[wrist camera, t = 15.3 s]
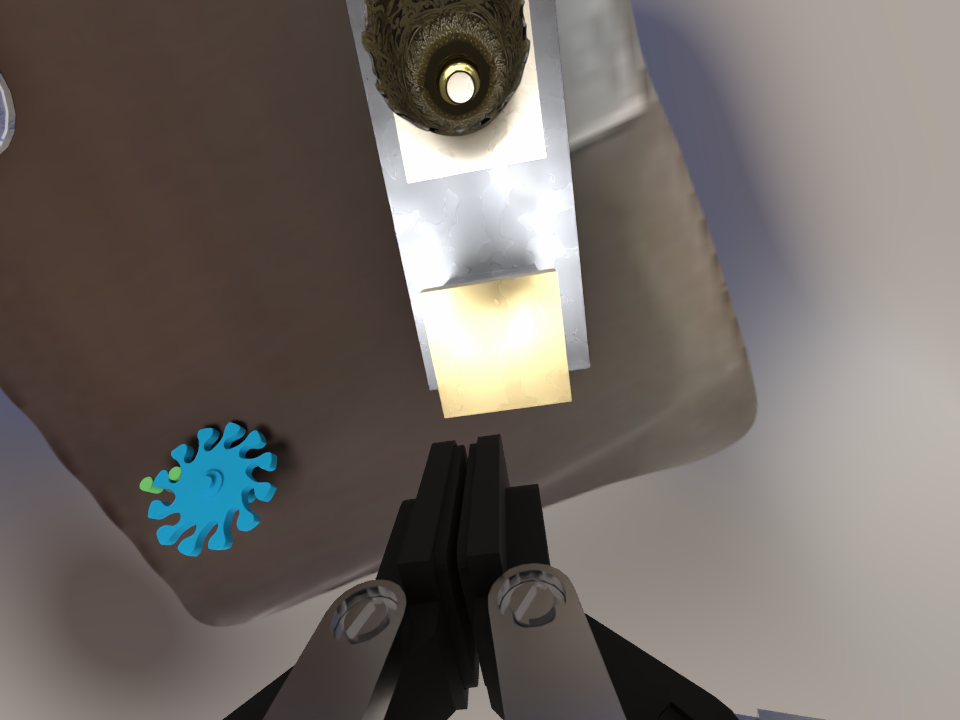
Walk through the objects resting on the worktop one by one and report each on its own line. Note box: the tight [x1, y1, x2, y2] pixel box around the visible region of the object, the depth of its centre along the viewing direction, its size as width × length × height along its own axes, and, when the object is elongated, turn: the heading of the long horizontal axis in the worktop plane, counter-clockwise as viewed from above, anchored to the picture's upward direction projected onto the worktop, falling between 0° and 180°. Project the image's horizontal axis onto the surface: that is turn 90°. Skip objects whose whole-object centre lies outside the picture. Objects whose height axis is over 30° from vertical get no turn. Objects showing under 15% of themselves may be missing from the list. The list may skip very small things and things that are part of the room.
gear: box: [140, 422, 277, 556], centre depth 36 cm, size 11×6×10 cm
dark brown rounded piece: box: [361, 0, 530, 136], centre depth 23 cm, size 8×7×8 cm
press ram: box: [419, 268, 572, 418], centre depth 27 cm, size 7×7×8 cm
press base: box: [346, 0, 590, 390], centre depth 27 cm, size 26×12×8 cm, turn 10°
